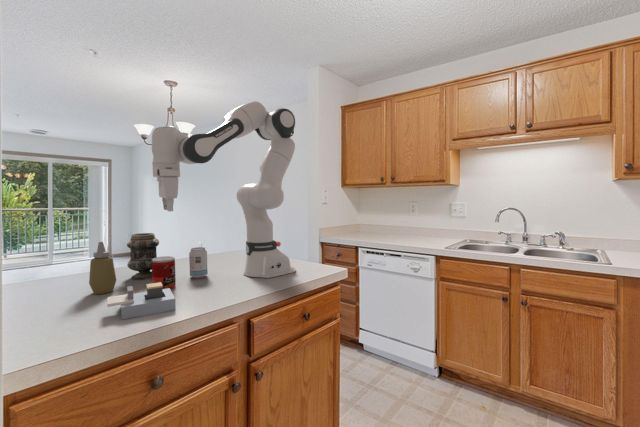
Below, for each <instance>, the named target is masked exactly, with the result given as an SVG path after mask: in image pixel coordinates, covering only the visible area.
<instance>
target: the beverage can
mask: <svg viewBox="0 0 640 427" xmlns="http://www.w3.org/2000/svg"><path fill="white" fill-rule="evenodd" d="M188 256H189V257H188V258H189V259H188V260H189V277H191V278H192V279H195V280H199V279H204V278H206V276H207V275H208V251H207V250H206V247H201V246H200V247H198V246H197V247H191V248H190V251H189V254H188Z"/></svg>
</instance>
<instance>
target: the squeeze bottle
mask: <svg viewBox="0 0 640 427" xmlns="http://www.w3.org/2000/svg"><path fill="white" fill-rule="evenodd" d="M96 250H97V251H95V252H93V258H92V259H91V260H90V261H89V262H90V265H89V278H88V279H89V282H88V284H89V286H90V290H92V292H93V294H94V295H103V294H107V293H111V292H113V291H114V290H115V286H116V283H117V276H116V270H115V264H114V258H112V257H111V256H110V251H109V250H106V247H105V244H104V242H103V241H99V242H98V245H97V249H96Z"/></svg>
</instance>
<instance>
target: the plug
mask: <svg viewBox="0 0 640 427" xmlns="http://www.w3.org/2000/svg"><path fill="white" fill-rule="evenodd" d="M145 286H146V292H147V300H149V299H155V298H161V297H163V291H162V287H163V285H162V283H161V282H159V283H146V284H145Z"/></svg>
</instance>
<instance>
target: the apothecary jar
mask: <svg viewBox="0 0 640 427" xmlns="http://www.w3.org/2000/svg"><path fill="white" fill-rule="evenodd" d="M159 244H160V240H159V239H158V238H157V237H156V236H155V233H154V232H138V233H133V234H131V235H130V239H129V240H127V242H126V247H127V248H129V249H130V259H129V260H128V261H127V264H126V266H127V268H128V269H130V270H132V271H135V272H137V273H134V274H133V275H132V276H131V277H130V279H131V280H136V281H137V280H147V279H152V259H153V258H157V257H158V255H157V247H158V246H159Z"/></svg>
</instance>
